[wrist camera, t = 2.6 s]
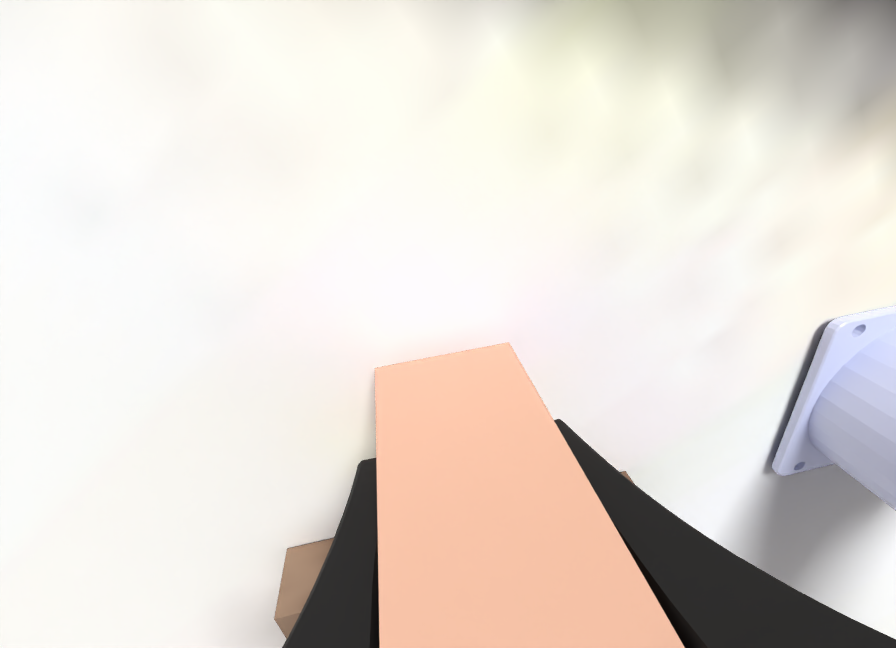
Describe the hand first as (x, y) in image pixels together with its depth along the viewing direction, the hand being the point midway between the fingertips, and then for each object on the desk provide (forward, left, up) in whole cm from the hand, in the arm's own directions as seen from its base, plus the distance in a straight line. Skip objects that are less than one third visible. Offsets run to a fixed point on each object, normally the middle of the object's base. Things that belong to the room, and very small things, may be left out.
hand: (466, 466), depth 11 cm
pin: (0, 0, -2) cm, 2 cm away
